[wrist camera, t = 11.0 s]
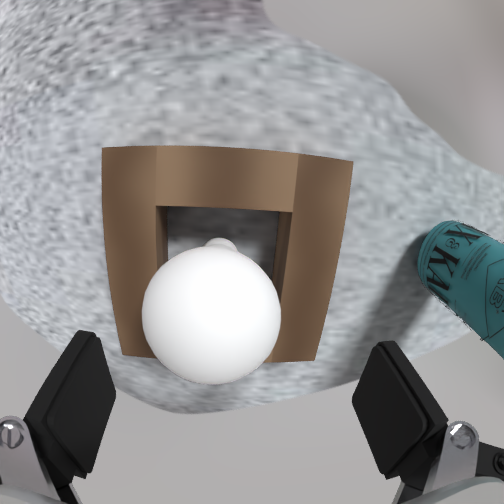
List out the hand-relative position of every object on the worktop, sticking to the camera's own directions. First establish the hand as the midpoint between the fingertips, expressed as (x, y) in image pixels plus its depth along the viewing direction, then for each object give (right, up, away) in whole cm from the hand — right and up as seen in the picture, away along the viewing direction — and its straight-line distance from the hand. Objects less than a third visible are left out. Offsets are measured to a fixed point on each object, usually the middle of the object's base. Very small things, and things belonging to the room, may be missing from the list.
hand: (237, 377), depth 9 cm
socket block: (-2, +4, +11) cm, 12 cm away
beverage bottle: (+16, +4, +13) cm, 21 cm away
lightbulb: (-2, +4, +11) cm, 12 cm away
